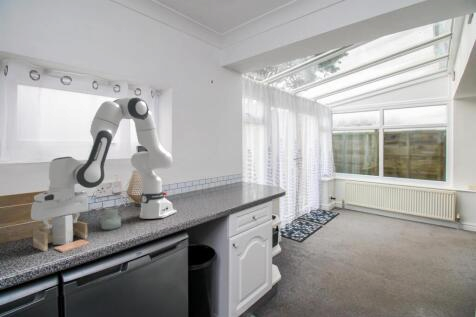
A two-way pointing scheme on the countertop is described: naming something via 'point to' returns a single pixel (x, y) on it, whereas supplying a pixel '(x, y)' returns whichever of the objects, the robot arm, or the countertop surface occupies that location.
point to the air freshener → (111, 219)
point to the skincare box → (62, 229)
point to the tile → (71, 245)
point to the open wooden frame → (46, 235)
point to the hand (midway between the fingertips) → (62, 225)
